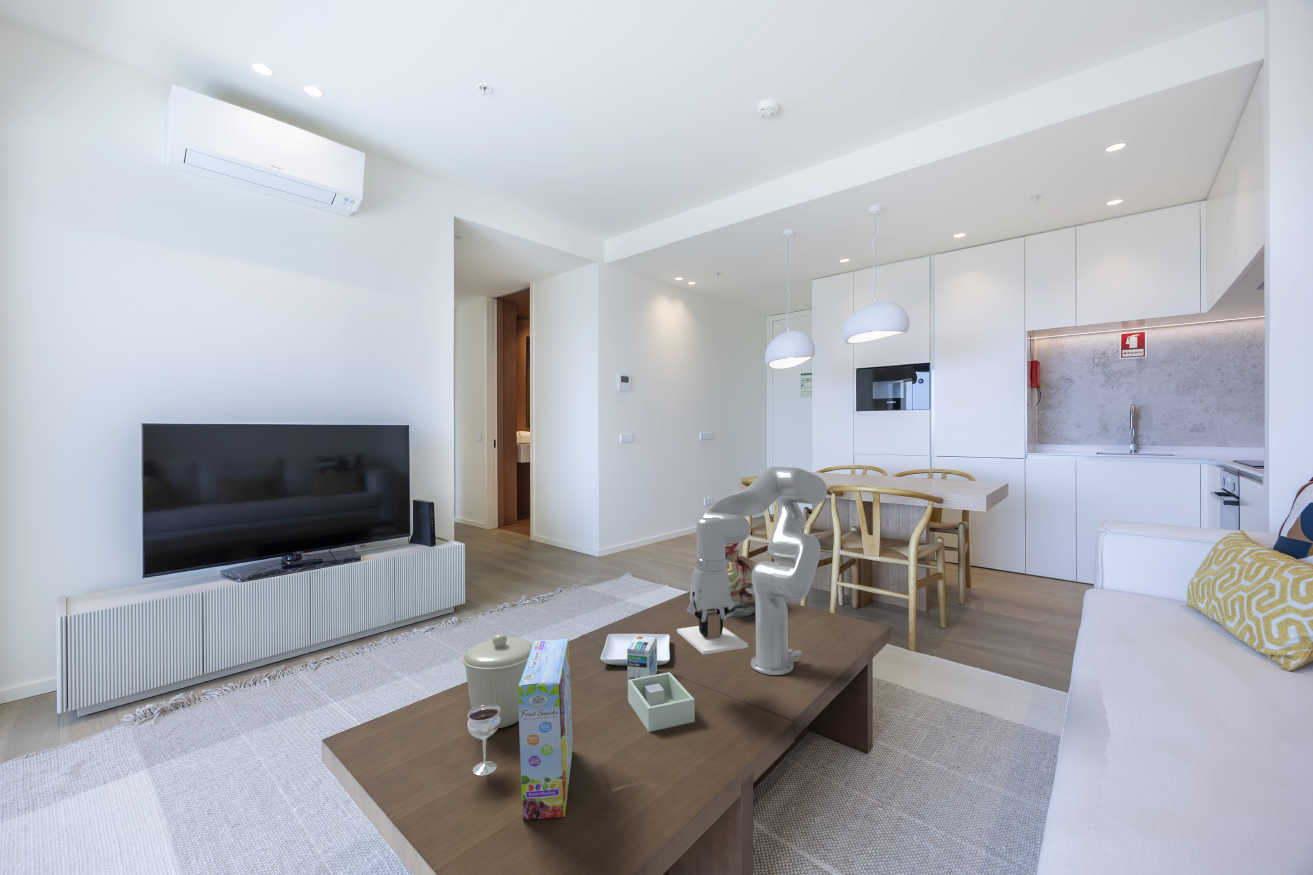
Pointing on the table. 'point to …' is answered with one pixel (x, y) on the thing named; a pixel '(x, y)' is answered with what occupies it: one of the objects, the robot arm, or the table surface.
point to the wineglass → (484, 732)
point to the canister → (497, 674)
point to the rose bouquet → (738, 580)
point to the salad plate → (620, 642)
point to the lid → (712, 636)
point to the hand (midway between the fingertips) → (711, 633)
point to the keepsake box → (664, 715)
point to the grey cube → (654, 694)
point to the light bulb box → (642, 657)
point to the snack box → (545, 730)
